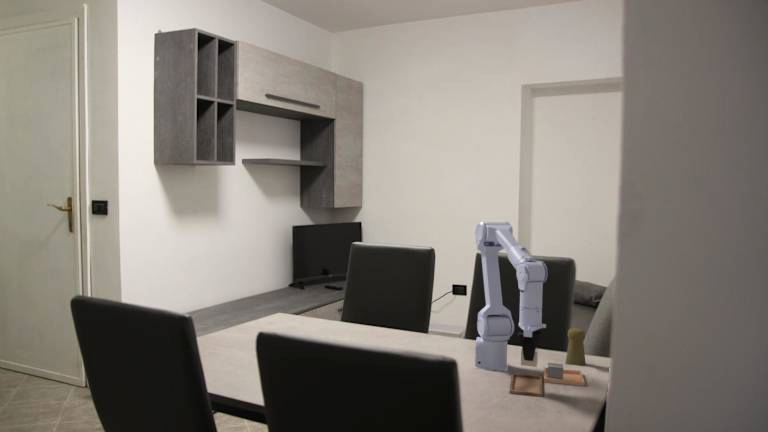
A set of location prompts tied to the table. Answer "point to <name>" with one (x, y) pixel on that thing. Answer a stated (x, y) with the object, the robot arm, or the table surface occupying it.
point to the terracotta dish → (566, 377)
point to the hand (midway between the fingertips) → (529, 357)
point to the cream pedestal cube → (530, 363)
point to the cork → (576, 347)
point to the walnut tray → (526, 385)
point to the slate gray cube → (555, 371)
